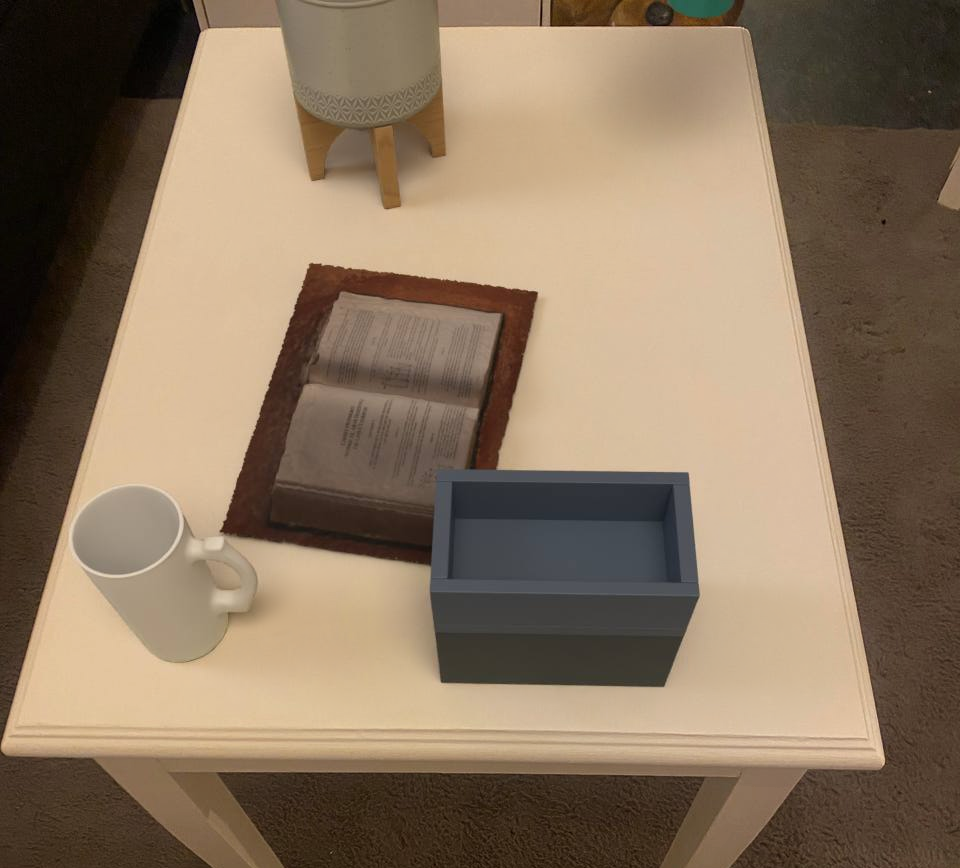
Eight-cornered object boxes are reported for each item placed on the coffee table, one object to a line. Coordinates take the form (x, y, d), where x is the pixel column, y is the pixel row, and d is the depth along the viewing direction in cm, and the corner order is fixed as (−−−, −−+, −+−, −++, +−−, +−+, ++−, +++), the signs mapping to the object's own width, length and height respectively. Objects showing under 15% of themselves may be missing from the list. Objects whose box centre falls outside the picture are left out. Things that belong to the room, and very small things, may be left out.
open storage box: (657, 578, 68) (688, 471, 57) (664, 687, 64) (700, 596, 53) (446, 575, 68) (436, 468, 57) (440, 683, 64) (429, 591, 53)
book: (219, 539, 70) (206, 506, 66) (310, 267, 82) (303, 225, 78) (484, 584, 69) (487, 553, 65) (536, 303, 81) (542, 263, 77)
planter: (297, 133, 91) (255, -76, 75) (427, 108, 92) (413, -101, 76) (323, 221, 85) (283, 16, 69) (461, 194, 87) (453, -13, 71)
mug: (127, 664, 65) (55, 575, 54) (147, 581, 68) (83, 481, 58) (271, 670, 65) (227, 581, 54) (285, 585, 68) (246, 486, 57)
